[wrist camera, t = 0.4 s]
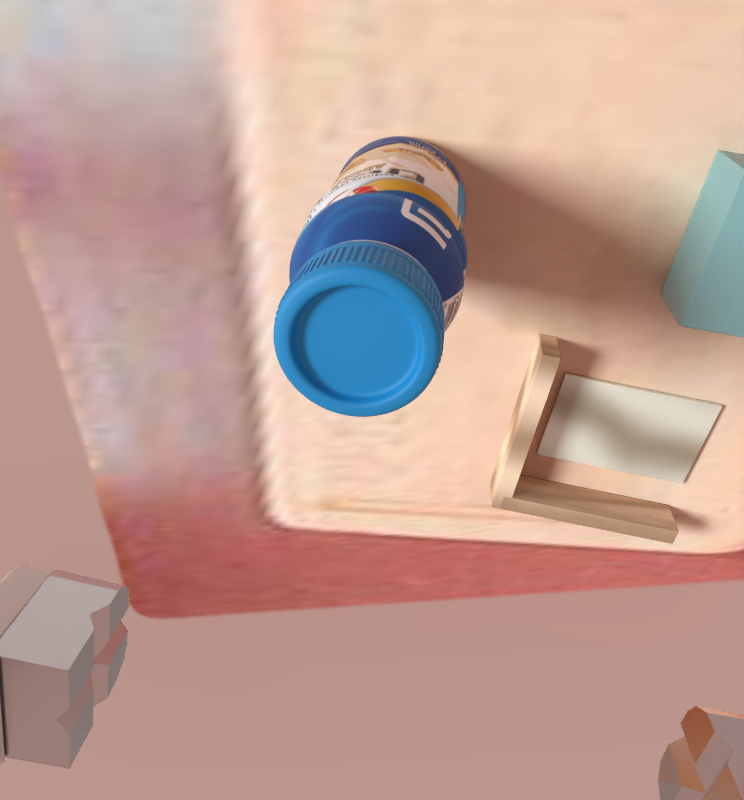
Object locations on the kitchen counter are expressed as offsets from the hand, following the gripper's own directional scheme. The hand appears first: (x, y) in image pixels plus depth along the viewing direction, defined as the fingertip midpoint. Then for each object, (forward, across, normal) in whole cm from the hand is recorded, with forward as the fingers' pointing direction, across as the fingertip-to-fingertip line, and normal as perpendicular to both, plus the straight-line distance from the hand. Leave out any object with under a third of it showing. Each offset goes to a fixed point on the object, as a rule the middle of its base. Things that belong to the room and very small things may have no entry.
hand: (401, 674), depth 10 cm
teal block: (+37, -18, -2) cm, 41 cm away
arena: (+39, -16, +13) cm, 44 cm away
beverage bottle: (+38, +2, 0) cm, 38 cm away
